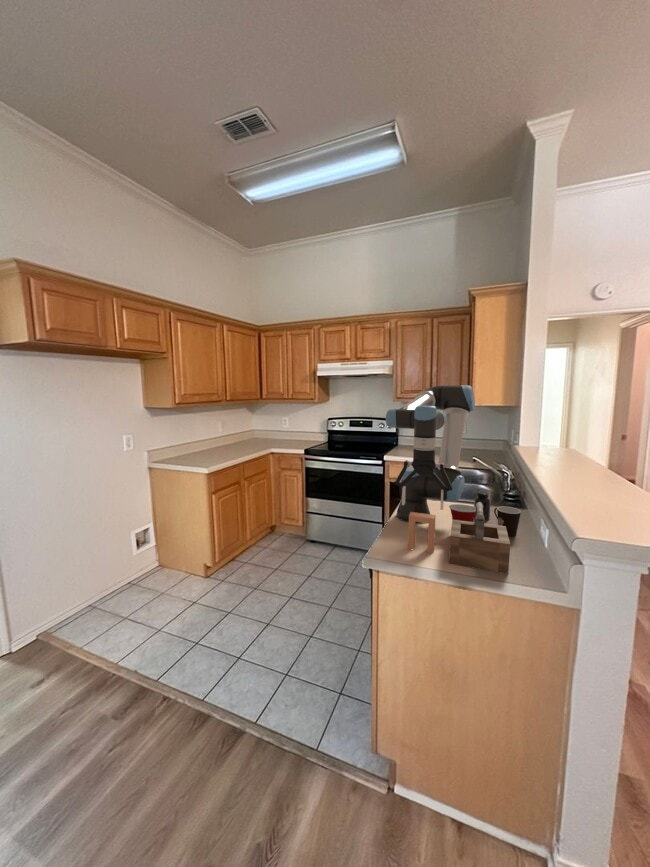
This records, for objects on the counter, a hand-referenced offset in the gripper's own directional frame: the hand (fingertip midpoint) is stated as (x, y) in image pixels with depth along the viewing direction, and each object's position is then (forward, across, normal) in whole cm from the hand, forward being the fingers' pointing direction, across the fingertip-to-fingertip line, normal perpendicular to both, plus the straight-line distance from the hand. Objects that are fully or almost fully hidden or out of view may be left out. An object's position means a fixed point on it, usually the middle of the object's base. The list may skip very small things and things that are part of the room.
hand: (422, 506), depth 129 cm
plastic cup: (+16, +14, +20) cm, 29 cm away
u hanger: (+16, 0, 0) cm, 16 cm away
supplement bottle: (+16, +22, +43) cm, 51 cm away
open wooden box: (+16, +19, 0) cm, 25 cm away
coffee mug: (+16, +31, +30) cm, 46 cm away
